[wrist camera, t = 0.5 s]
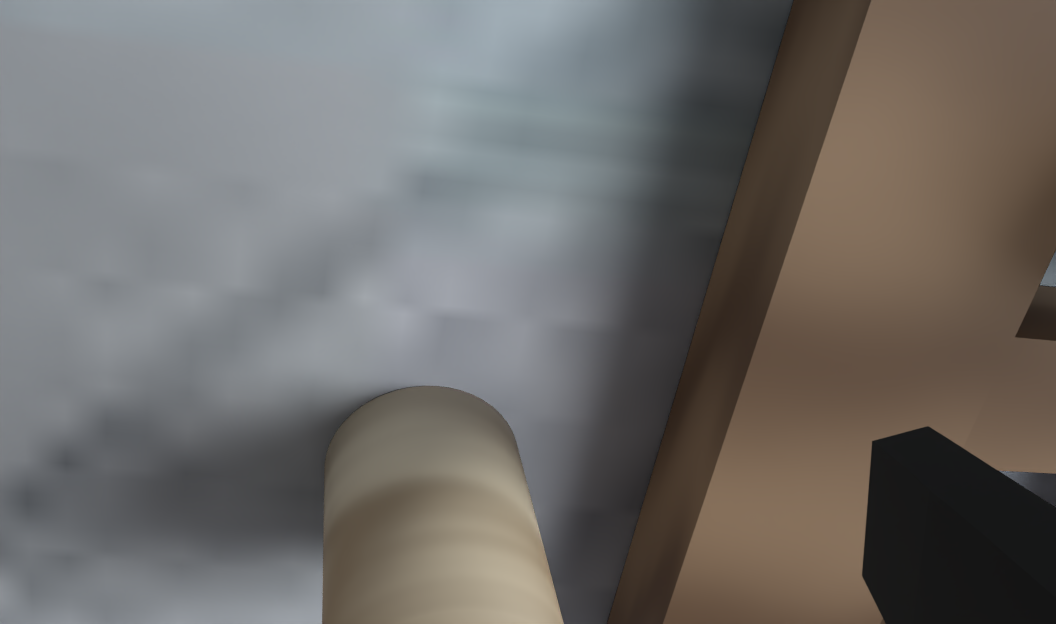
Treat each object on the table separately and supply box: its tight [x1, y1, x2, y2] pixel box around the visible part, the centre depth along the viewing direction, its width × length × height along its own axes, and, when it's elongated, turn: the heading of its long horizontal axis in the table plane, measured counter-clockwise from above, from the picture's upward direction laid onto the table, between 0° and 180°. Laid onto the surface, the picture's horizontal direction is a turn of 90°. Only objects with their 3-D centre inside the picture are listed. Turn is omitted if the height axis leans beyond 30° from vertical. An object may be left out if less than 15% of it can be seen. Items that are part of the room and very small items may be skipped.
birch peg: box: [322, 386, 564, 624], centre depth 18 cm, size 4×4×6 cm
